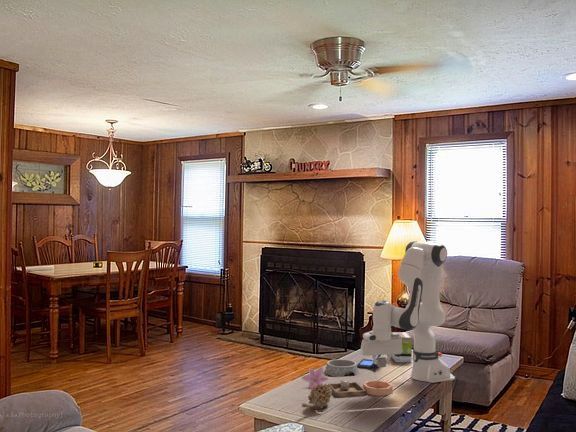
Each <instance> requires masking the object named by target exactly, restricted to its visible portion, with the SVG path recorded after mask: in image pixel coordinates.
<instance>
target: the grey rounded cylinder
mask: <svg viewBox="0 0 576 432" xmlns="http://www.w3.org/2000/svg"><path fill="white" fill-rule="evenodd" d="M377 357H378V356H377ZM386 359H387V357H386V356H380V357H378V364H376V366H377V367H378V368H386V367H387V364H386Z"/></svg>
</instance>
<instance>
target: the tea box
mask: <svg viewBox="0 0 576 432" xmlns="http://www.w3.org/2000/svg"><path fill="white" fill-rule="evenodd" d="M397 334H398V335H400V336H401V337H402V353H401V354H391V358H392V359H393V360H394V362H395V363H412V362H413V349H412V348H413V337H412V336H411V335H410V334H409V333H408V332H406V331H405V332H404V331H403V332H400V331H398V332H397V331H394V332H392V331H391V335H397ZM400 336H399V337H400Z"/></svg>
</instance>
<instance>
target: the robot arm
mask: <svg viewBox="0 0 576 432" xmlns="http://www.w3.org/2000/svg"><path fill="white" fill-rule="evenodd" d="M404 250H405V252H404V253H405V254H404V255H403V257H402V259H401V261H400V265H399V268H398V272H397V276H398V279H399V281H400V282H401V283H403V285H405V286H406V287H407V288H408V289H409V296H408V302H407V304H406V306H405V308H404V307H400V306H395V305H394V304H391V303H390V301H388V300H379V301H376V302H375V303H374V304H373V309H372V321H373V322H372V323H373V326H372V330H370V331H367V332H364V333H363V334H362V337H363V339H362V340H361V343H360V353H361V354H362V355H363V356H371V357H372V360H374V364H376V365H377V364H378V360H376V358H377V356H378V355H381V356H387V357H386V365H389V364H390V360H391V358H392V356H391V354H401V353H402V337H401V336H400V335H398V334H397V335H391V332H392V327H395V328H399V329H401V330H405V331H407V332H408V331H410V332H411V331H412V334H413V349H412V369H411V373H410V378H412V379H413V380H417V381H421V382H428V383H439V382H440V383H441V382H447V381H454V380H455V379H456V378H455V375H453V374H452V373H451V370H450V369H451V368H450V367H449V365H448V364H447V363H446V362H444V361H443V360H442V359H441V357H442V356H443V353H442V352H439V351H437V350H436V335H435V334H434V332H433V330H432V328H431V327H440V326H442V325H443V324H444V323H445V320H446V313H445V311H444V309H443V306H442V304H441V299H440V290H441V289H440V288H441V282H442V275H443V264H444V263H445V261H446V260H447V257H448V250H447V247H446V246H445V245H443V244H442V243H435V242H432V241H417V240H416V241H414V240H413V241H410V242H409V243H407V245H406V247H405V249H404ZM399 336H400V337H399ZM439 357H440V358H439Z"/></svg>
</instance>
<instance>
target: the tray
mask: <svg viewBox="0 0 576 432" xmlns="http://www.w3.org/2000/svg"><path fill="white" fill-rule="evenodd" d="M327 385H328V387H330V389H332V391H331V392H332V393H331V394H333V396H335V398H345V397H357V396H361V397H362V396H367V393H366V390H365V389H364V388H363V386H362V385H360V383H358V382H357V381H353V382H352V381H351V382H350V381H349V390H348V391H343V390H341V382H336V383H334V382H333V383H327Z"/></svg>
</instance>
